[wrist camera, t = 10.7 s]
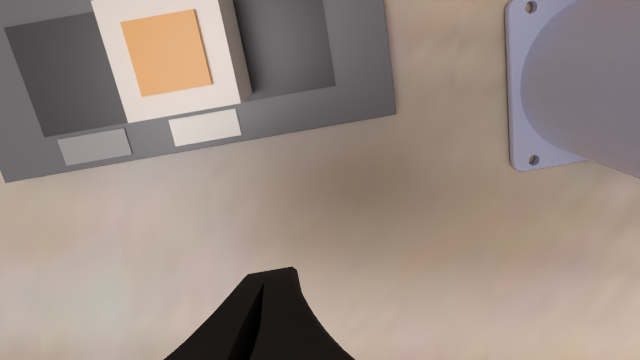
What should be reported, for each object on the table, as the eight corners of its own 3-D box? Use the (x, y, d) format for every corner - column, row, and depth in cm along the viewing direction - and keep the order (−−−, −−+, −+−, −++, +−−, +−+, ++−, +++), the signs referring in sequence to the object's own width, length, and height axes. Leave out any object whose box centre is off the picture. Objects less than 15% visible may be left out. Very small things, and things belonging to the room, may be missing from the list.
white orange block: (231, -7, 17) (211, -23, 13) (252, 93, 18) (240, 103, 14) (133, 11, 17) (87, -1, 13) (161, 110, 18) (125, 124, 14)
